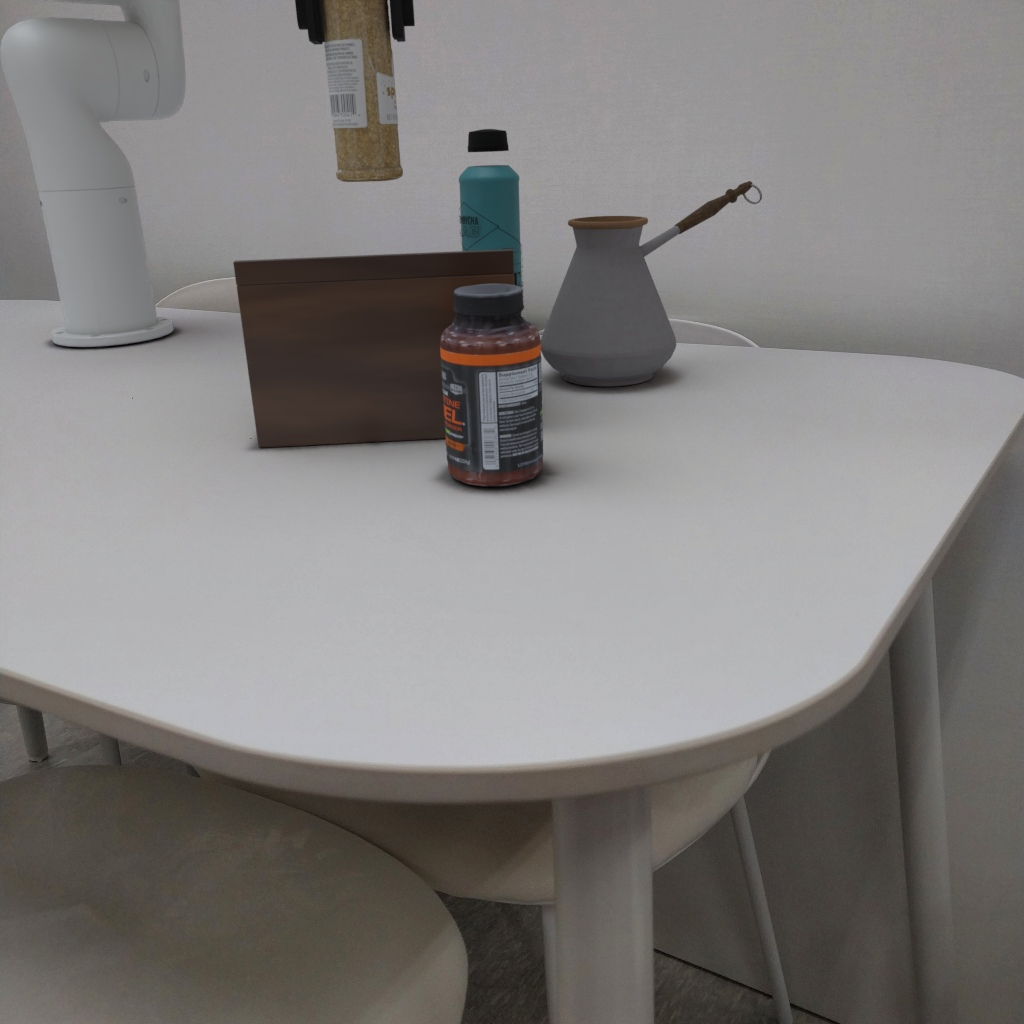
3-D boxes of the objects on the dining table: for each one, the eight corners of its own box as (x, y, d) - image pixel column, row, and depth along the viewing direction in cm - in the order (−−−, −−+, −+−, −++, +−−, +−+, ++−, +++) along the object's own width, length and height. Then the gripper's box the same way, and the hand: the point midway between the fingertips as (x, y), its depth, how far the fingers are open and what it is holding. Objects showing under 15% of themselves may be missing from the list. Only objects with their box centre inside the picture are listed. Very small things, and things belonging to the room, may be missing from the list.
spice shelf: (293, 390, 81) (274, 237, 77) (506, 380, 82) (501, 227, 78) (258, 448, 66) (232, 261, 62) (519, 434, 67) (513, 249, 63)
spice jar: (415, 179, 65) (400, -51, 60) (352, 183, 62) (332, -56, 57) (384, 178, 68) (368, -39, 63) (324, 181, 66) (302, -43, 61)
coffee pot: (588, 400, 75) (587, 197, 70) (515, 373, 84) (509, 192, 79) (792, 362, 85) (805, 182, 79) (706, 342, 94) (712, 179, 89)
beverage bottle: (488, 320, 109) (480, 129, 101) (537, 325, 105) (532, 127, 98) (451, 330, 104) (440, 130, 97) (501, 336, 100) (493, 128, 93)
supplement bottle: (434, 467, 61) (422, 286, 57) (520, 453, 63) (514, 277, 59) (468, 496, 56) (457, 299, 52) (560, 480, 58) (557, 289, 54)
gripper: (474, -287, 59) (487, 42, 66) (195, -282, 59) (237, 50, 65) (478, -343, 52) (492, 31, 59) (161, -338, 52) (211, 40, 58)
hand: (358, 37), depth 62 cm, fingers closed on spice jar, 4 cm apart
